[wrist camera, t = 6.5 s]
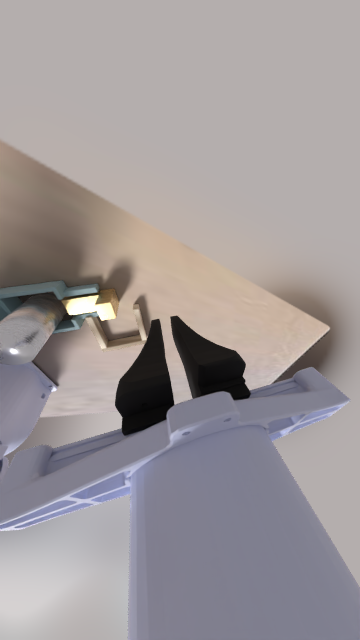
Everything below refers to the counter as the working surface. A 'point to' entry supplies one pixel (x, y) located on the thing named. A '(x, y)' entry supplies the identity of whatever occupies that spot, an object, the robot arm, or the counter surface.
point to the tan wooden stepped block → (93, 303)
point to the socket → (7, 301)
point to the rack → (121, 342)
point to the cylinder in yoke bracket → (29, 328)
